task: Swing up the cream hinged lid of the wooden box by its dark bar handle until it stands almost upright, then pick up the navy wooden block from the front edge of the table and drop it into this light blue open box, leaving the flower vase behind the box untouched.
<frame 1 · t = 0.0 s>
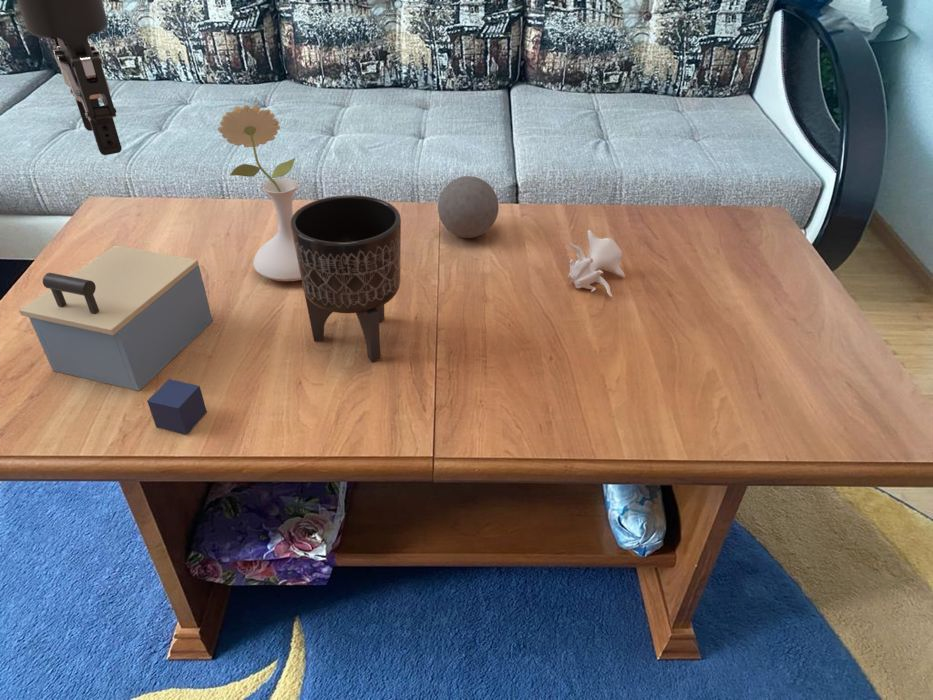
hand: (103, 140, 77), 26 cm above the table, tool pointing down, fingers open, 8 cm apart
figurine: (594, 283, 104), on the table
lid: (109, 271, 82), point 11 cm above the table, hinge at 0.0°
block: (181, 419, 79), on the table
planter: (357, 339, 92), on the table
flower in vase: (288, 270, 106), on the table
decorative ball: (467, 235, 116), on the table
light blue open box: (137, 344, 90), on the table
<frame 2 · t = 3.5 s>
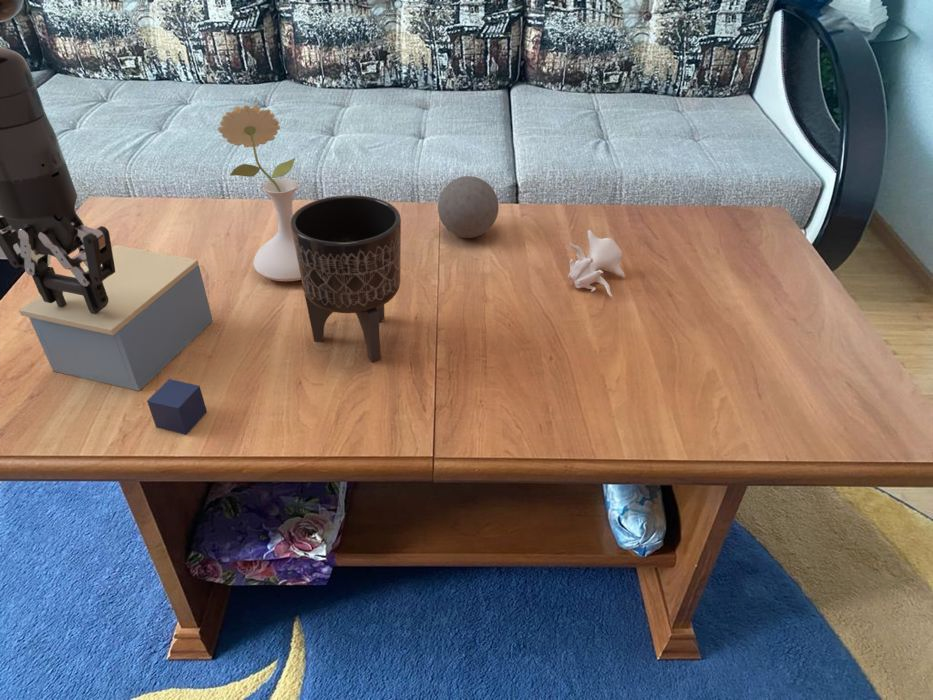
hand: (76, 303, 78), 10 cm above the table, tool pointing down, fingers closed on lid, 5 cm apart
lid: (109, 271, 82), point 11 cm above the table, hinge at 0.0°, touching gripper
everything else where it was.
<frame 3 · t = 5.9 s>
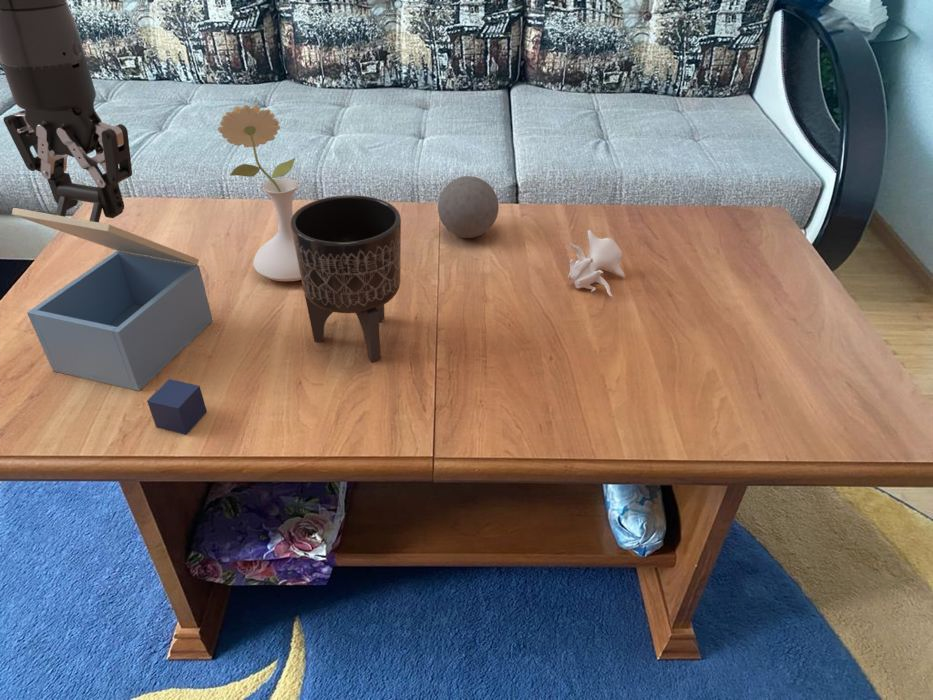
hand: (91, 210, 78), 19 cm above the table, tool pointing down, fingers closed on lid, 5 cm apart
lid: (116, 221, 82), point 16 cm above the table, hinge at 41.6°, touching gripper
everything else where it was.
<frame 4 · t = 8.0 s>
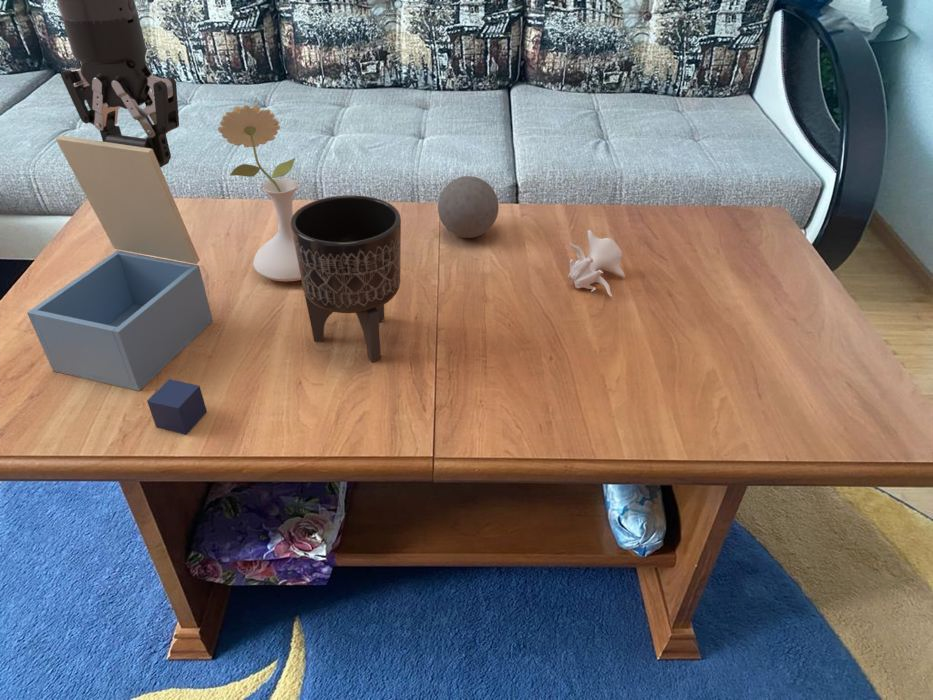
hand: (140, 161, 84), 21 cm above the table, tool pointing down, fingers closed on lid, 5 cm apart
lid: (141, 193, 85), point 18 cm above the table, hinge at 78.7°, touching gripper
everything else where it was.
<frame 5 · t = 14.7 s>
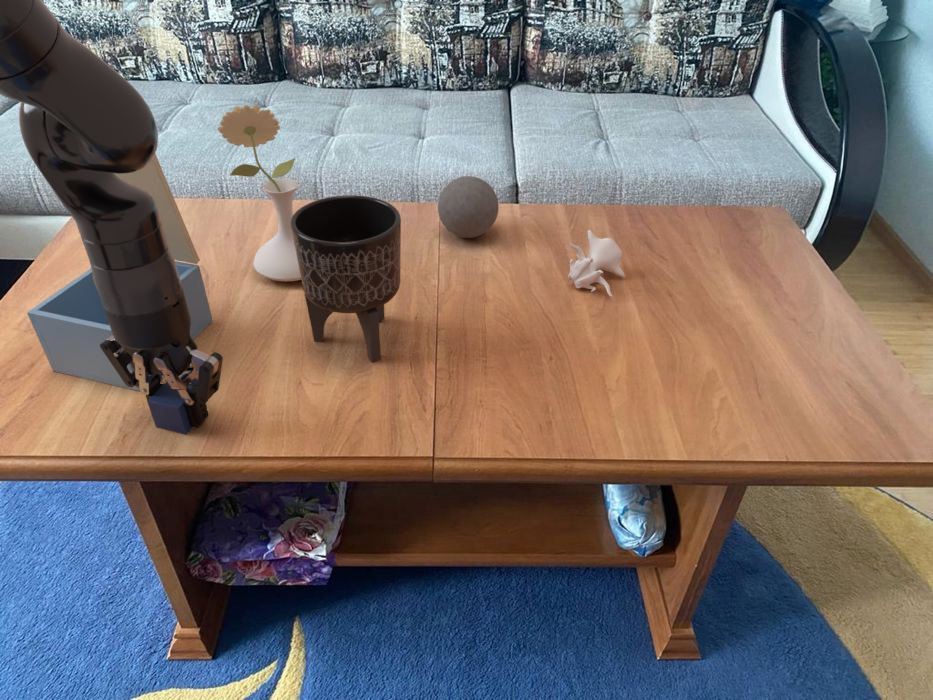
hand: (181, 417, 78), 0 cm above the table, tool pointing down, fingers closed on block, 4 cm apart
lid: (142, 193, 85), point 18 cm above the table, hinge at 79.2°
block: (181, 419, 79), on the table, touching gripper
everything else where it was.
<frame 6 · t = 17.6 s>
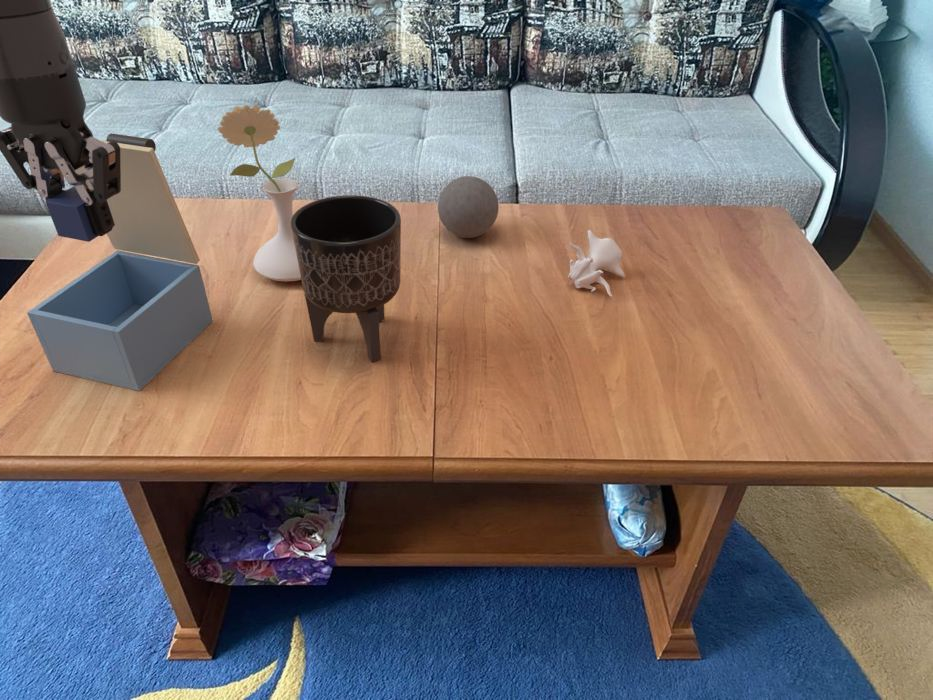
hand: (86, 228, 74), 19 cm above the table, tool pointing down, fingers closed on block, 4 cm apart
block: (87, 230, 74), point 19 cm above the table, touching gripper
everything else where it was.
when the fingers open (9 cm above the table, at t = 20.8 s): block drops 8 cm, resting on light blue open box.
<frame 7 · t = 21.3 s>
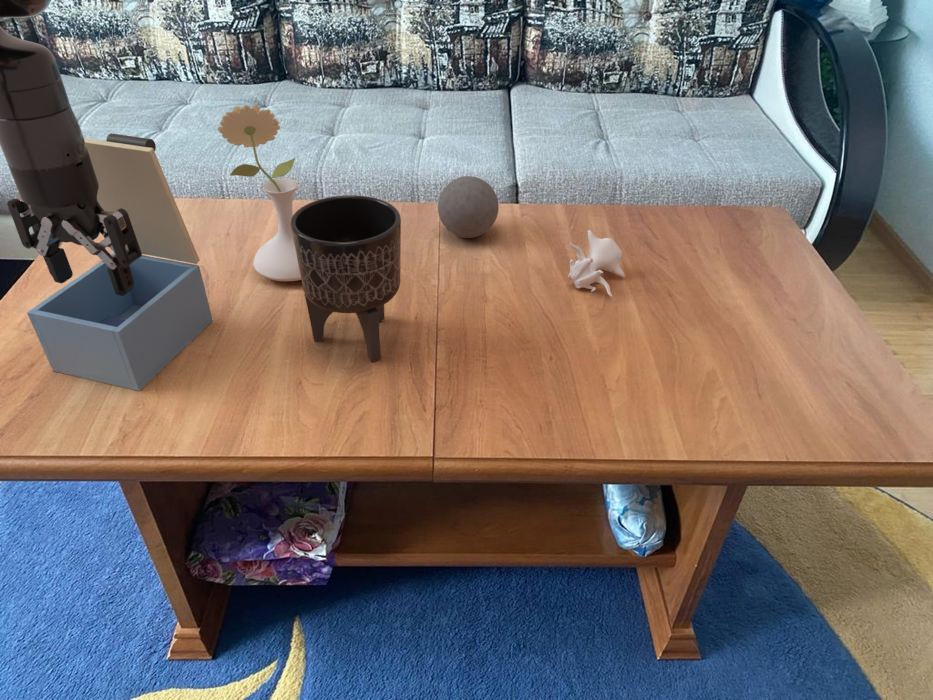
hand: (94, 286, 81), 11 cm above the table, tool pointing down, fingers open, 8 cm apart
block: (119, 353, 87), point 1 cm above the table, touching light blue open box
everything else where it was.
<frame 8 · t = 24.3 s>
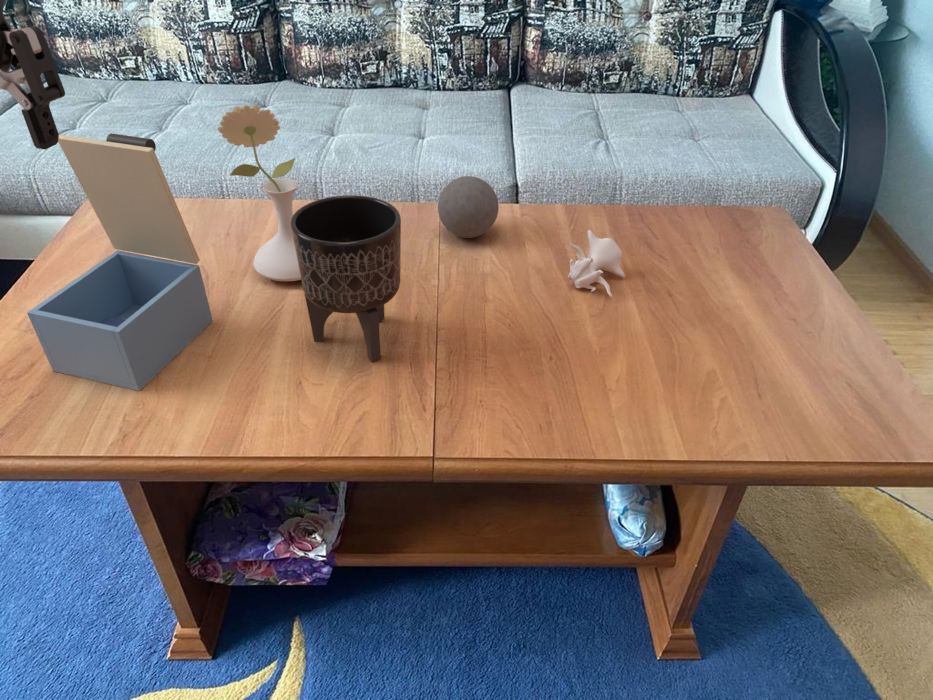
hand: (11, 140, 65), 30 cm above the table, tool pointing down, fingers open, 8 cm apart
nothing on the table moved.
at the end: lid at +79° (first picture: +0°); block inside the target area in the light blue open box (3.0 cm from its centre), point 0.8 cm above the light blue open box's base; flower in vase moved 0.2 cm from its start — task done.
